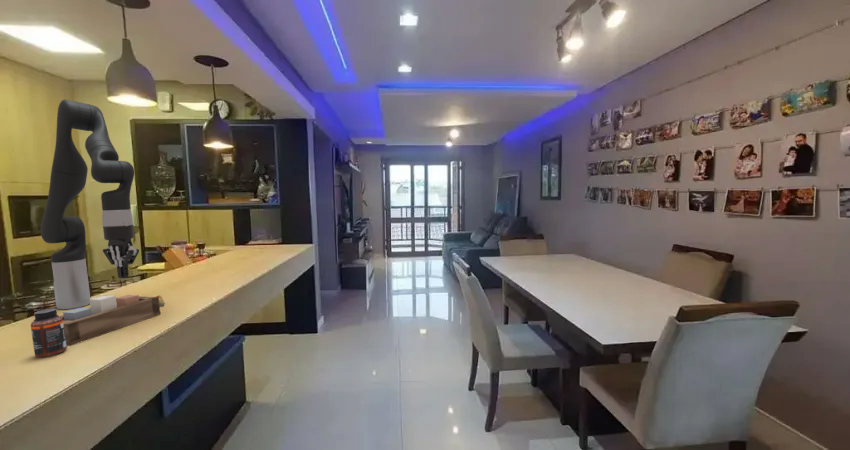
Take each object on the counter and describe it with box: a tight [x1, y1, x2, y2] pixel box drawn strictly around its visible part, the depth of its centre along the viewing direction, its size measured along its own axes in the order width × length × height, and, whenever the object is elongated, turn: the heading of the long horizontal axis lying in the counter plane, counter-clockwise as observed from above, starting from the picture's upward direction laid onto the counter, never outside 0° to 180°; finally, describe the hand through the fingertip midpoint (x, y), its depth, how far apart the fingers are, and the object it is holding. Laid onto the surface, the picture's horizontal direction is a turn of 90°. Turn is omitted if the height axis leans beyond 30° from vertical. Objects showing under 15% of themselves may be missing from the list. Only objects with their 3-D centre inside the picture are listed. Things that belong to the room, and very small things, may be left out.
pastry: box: [155, 295, 166, 308], centre depth 137 cm, size 9×7×4 cm
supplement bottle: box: [30, 308, 68, 358], centre depth 98 cm, size 6×6×11 cm
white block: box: [89, 295, 117, 315], centre depth 117 cm, size 4×4×5 cm
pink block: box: [116, 294, 140, 307], centre depth 124 cm, size 4×4×5 cm
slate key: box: [62, 307, 92, 321], centre depth 111 cm, size 4×4×5 cm
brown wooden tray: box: [60, 295, 161, 346], centre depth 118 cm, size 12×26×6 cm, turn 164°
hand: (123, 277), depth 123 cm, fingers closed
